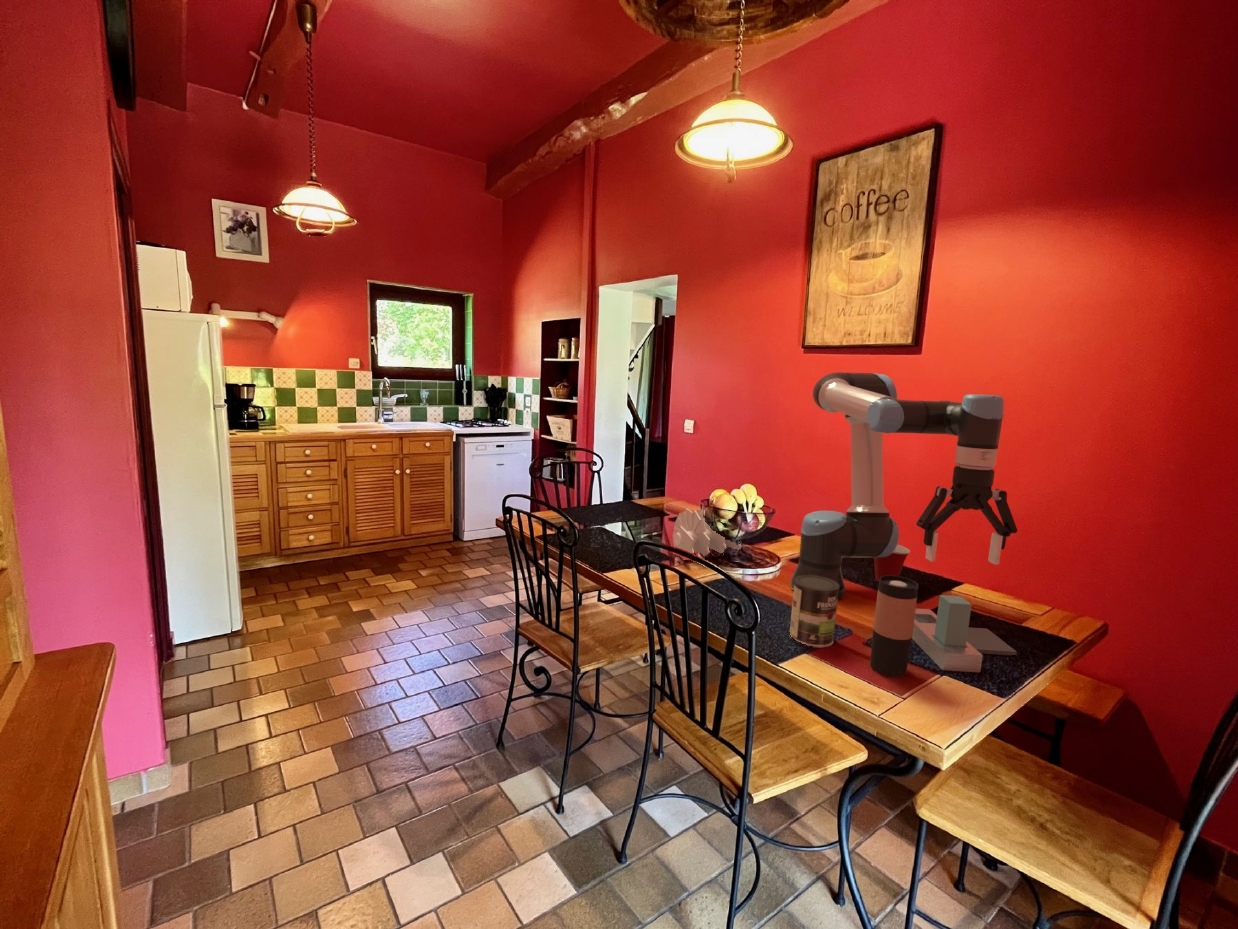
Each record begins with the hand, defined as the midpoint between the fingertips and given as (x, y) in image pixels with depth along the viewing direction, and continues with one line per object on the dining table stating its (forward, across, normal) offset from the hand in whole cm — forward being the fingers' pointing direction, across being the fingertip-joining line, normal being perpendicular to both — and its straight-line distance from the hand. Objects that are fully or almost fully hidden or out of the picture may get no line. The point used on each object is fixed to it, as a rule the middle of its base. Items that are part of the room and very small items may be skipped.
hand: (961, 561), depth 126 cm
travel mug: (+23, -16, -7) cm, 29 cm away
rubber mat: (+23, +11, +9) cm, 27 cm away
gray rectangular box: (+23, 0, 0) cm, 23 cm away
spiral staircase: (+23, -49, +62) cm, 82 cm away
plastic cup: (+23, +5, +47) cm, 53 cm away
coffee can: (+23, -29, +6) cm, 38 cm away
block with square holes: (+23, 0, +6) cm, 24 cm away
